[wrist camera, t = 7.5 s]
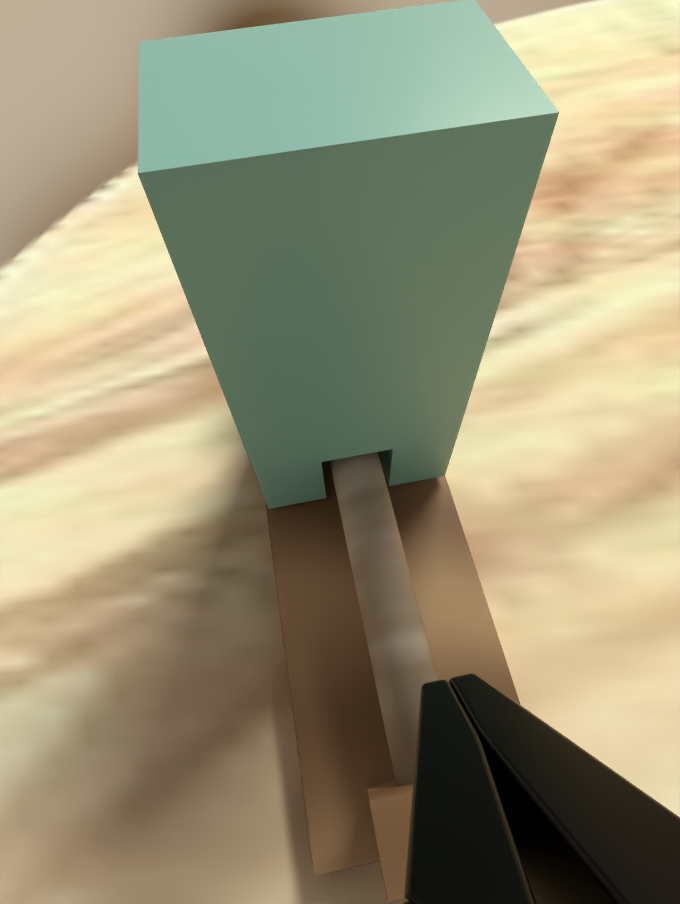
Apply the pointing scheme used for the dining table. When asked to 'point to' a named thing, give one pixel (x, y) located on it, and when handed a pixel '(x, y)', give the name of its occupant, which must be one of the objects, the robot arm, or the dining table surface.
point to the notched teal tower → (343, 223)
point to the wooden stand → (373, 649)
